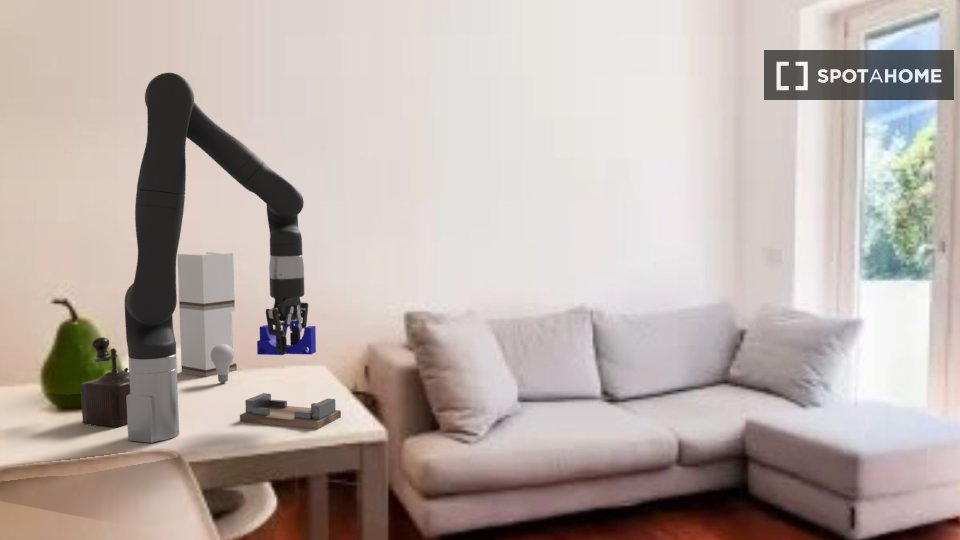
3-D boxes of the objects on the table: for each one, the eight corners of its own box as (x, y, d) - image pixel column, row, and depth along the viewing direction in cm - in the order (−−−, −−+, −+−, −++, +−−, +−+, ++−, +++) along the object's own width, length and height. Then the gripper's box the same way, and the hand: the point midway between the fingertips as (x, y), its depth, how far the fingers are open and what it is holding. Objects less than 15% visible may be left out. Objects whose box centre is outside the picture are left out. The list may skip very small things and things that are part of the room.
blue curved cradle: (257, 354, 169) (256, 327, 169) (265, 351, 174) (265, 325, 173) (308, 355, 168) (308, 328, 167) (315, 352, 172) (315, 326, 172)
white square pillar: (236, 370, 226) (233, 253, 223) (206, 377, 217) (202, 255, 214) (212, 366, 232) (208, 252, 229) (181, 372, 223) (177, 254, 220)
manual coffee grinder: (154, 415, 176) (151, 339, 174) (115, 428, 165) (112, 347, 164) (104, 409, 181) (101, 335, 180) (64, 421, 171) (60, 343, 170)
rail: (318, 428, 164) (317, 408, 164) (240, 421, 170) (239, 401, 170) (340, 417, 174) (340, 397, 173) (265, 410, 180) (265, 391, 180)
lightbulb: (210, 382, 210) (209, 343, 209) (233, 380, 213) (232, 341, 212) (212, 386, 205) (211, 346, 204) (236, 384, 207) (235, 344, 206)
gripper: (283, 279, 162) (285, 357, 163) (318, 273, 175) (319, 346, 176) (253, 278, 164) (255, 355, 165) (290, 273, 177) (291, 344, 179)
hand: (288, 350), depth 171 cm, fingers closed on blue curved cradle, 5 cm apart
